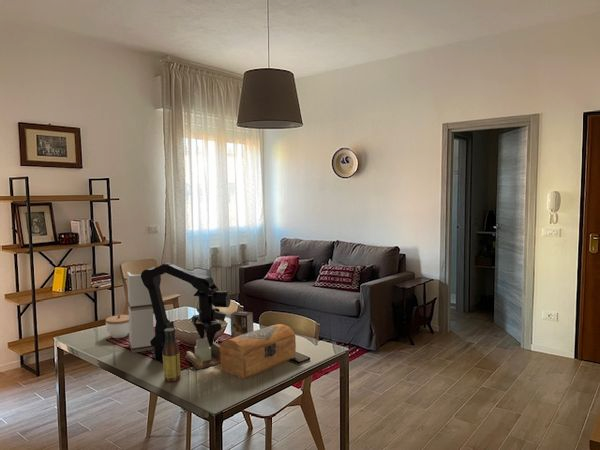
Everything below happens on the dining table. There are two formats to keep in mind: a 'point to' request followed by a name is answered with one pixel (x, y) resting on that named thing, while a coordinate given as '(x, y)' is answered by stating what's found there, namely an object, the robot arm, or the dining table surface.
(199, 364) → the cleat board
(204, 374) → the dining table surface
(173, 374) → the sauce bottle
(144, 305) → the stacked white boxes
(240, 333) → the coffee box
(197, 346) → the cabinet block
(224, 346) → the wooden box
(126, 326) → the lidded bowl
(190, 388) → the dining table surface
